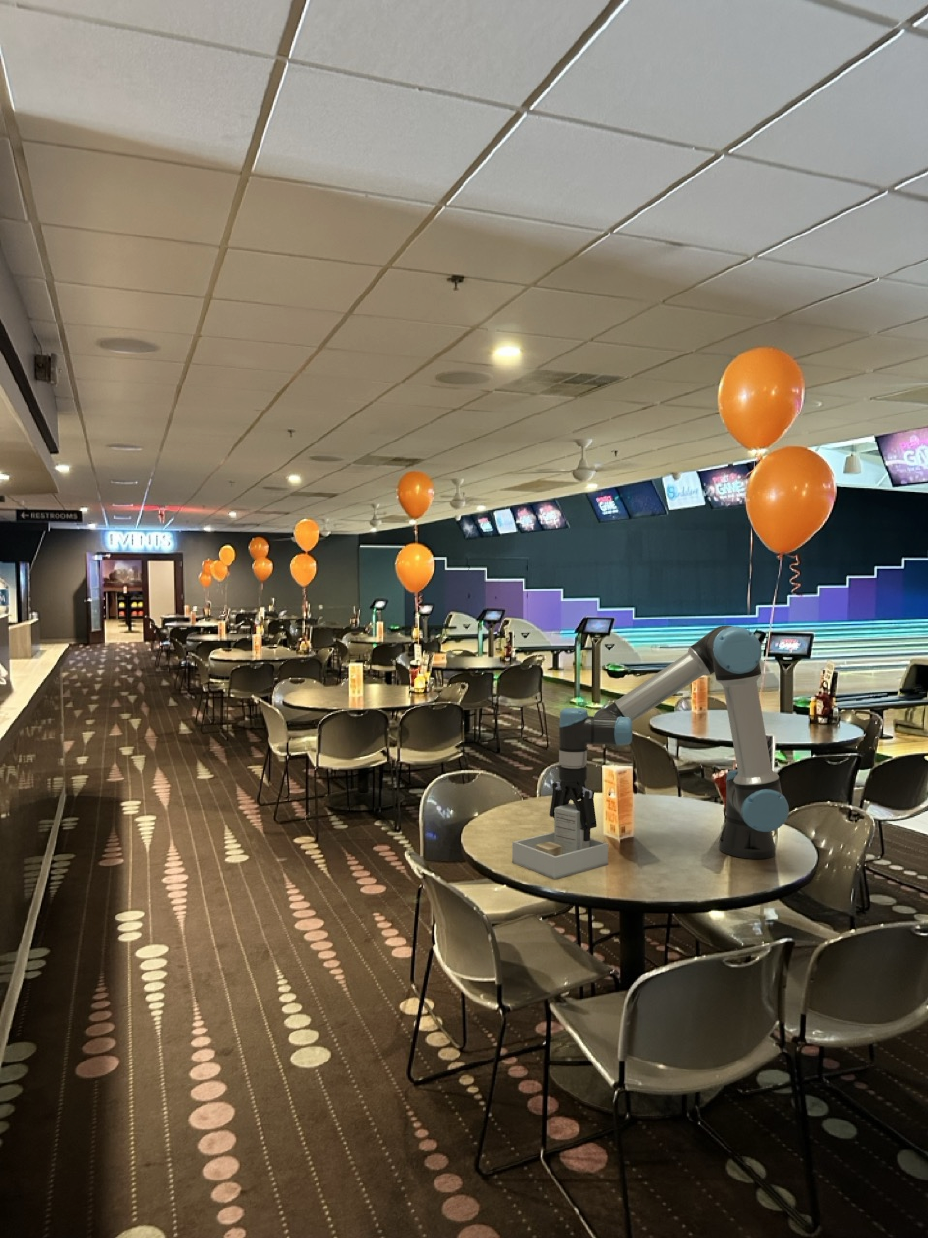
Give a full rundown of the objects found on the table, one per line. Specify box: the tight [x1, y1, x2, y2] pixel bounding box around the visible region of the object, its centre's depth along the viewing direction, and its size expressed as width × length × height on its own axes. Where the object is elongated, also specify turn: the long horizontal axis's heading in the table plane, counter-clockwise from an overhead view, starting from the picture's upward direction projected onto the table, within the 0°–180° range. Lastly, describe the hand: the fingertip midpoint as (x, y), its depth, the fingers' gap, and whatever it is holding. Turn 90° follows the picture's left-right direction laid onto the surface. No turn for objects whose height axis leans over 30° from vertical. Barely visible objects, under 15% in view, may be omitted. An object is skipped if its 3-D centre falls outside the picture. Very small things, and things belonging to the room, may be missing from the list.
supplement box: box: [553, 802, 590, 855], centre depth 226 cm, size 7×7×13 cm
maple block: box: [535, 842, 562, 856], centre depth 221 cm, size 5×5×5 cm
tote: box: [511, 831, 609, 880], centre depth 223 cm, size 17×20×6 cm
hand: (572, 848), depth 226 cm, fingers closed on supplement box, 8 cm apart
